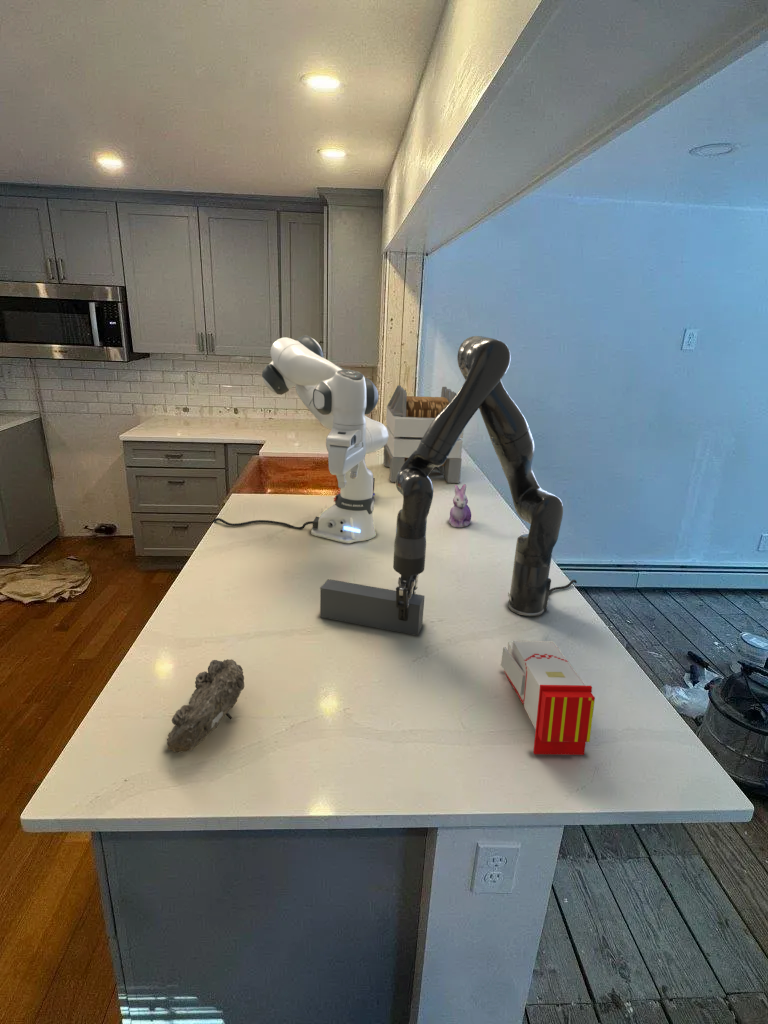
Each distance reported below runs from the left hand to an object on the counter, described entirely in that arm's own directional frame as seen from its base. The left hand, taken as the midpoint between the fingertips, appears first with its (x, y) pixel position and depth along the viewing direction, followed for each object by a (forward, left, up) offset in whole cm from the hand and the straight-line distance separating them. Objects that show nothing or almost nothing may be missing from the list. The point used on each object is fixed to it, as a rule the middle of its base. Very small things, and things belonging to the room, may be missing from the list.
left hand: (348, 482), depth 156 cm
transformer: (-4, +119, -29) cm, 122 cm away
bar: (+14, -21, -29) cm, 38 cm away
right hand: (+23, -21, -25) cm, 40 cm away
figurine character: (-16, +71, -29) cm, 79 cm away
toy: (+56, -41, -29) cm, 75 cm away
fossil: (-4, -65, -29) cm, 71 cm away
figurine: (+25, +57, -29) cm, 69 cm away
